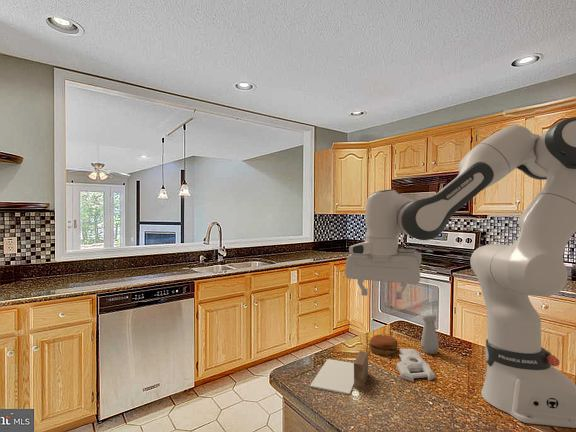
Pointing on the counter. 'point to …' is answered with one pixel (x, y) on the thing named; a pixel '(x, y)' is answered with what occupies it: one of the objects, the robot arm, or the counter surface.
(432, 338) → the salt shaker
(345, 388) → the mat
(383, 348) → the burger
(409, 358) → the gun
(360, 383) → the block
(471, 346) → the counter surface
